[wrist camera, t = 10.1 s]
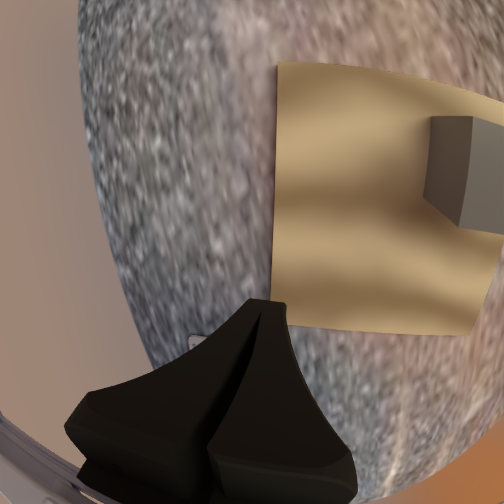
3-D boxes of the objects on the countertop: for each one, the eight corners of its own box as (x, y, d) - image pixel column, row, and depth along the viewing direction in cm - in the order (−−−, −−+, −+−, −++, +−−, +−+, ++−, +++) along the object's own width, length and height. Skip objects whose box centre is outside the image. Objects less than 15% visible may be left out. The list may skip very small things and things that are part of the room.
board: (466, 329, 20) (469, 335, 20) (270, 316, 23) (269, 322, 23) (515, 110, 13) (521, 110, 12) (279, 64, 16) (277, 61, 15)
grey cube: (486, 209, 16) (530, 240, 11) (422, 197, 17) (458, 227, 12) (496, 134, 13) (546, 144, 8) (431, 116, 14) (473, 116, 9)
